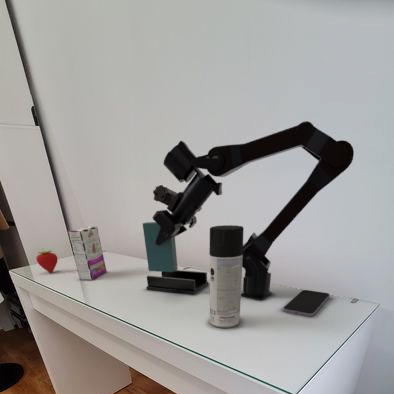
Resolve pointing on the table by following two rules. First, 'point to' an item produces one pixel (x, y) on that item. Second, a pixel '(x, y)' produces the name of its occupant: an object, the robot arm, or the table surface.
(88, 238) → the candy bar box
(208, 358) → the table surface
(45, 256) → the strawberry
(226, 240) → the spray can
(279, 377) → the table surface
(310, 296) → the smartphone
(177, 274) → the black rack
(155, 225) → the book
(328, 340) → the table surface
